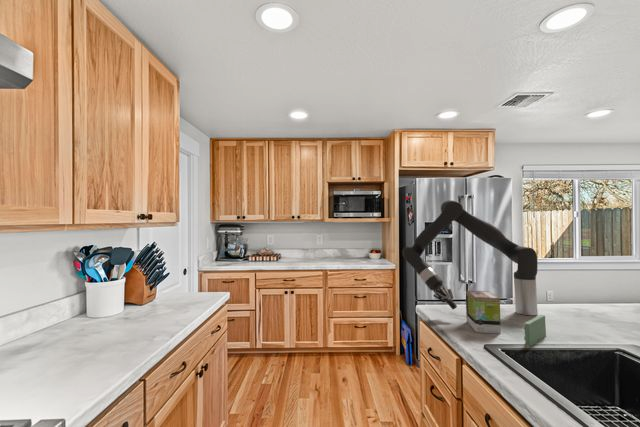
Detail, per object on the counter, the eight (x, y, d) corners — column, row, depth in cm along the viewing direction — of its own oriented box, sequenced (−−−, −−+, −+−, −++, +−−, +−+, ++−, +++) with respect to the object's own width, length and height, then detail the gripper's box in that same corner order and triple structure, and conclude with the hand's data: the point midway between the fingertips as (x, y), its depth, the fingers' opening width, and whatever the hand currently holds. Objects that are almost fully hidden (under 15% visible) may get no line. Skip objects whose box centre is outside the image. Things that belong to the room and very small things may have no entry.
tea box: (502, 334, 125) (500, 297, 126) (475, 332, 127) (474, 296, 128) (489, 322, 140) (488, 290, 140) (465, 321, 142) (464, 289, 142)
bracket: (539, 334, 124) (538, 314, 124) (546, 335, 122) (544, 315, 122) (523, 344, 113) (522, 322, 114) (530, 346, 111) (529, 324, 112)
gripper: (427, 275, 148) (452, 305, 137) (442, 272, 156) (467, 301, 145) (418, 284, 152) (442, 315, 141) (433, 281, 160) (457, 310, 149)
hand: (455, 308), depth 143 cm, fingers closed
